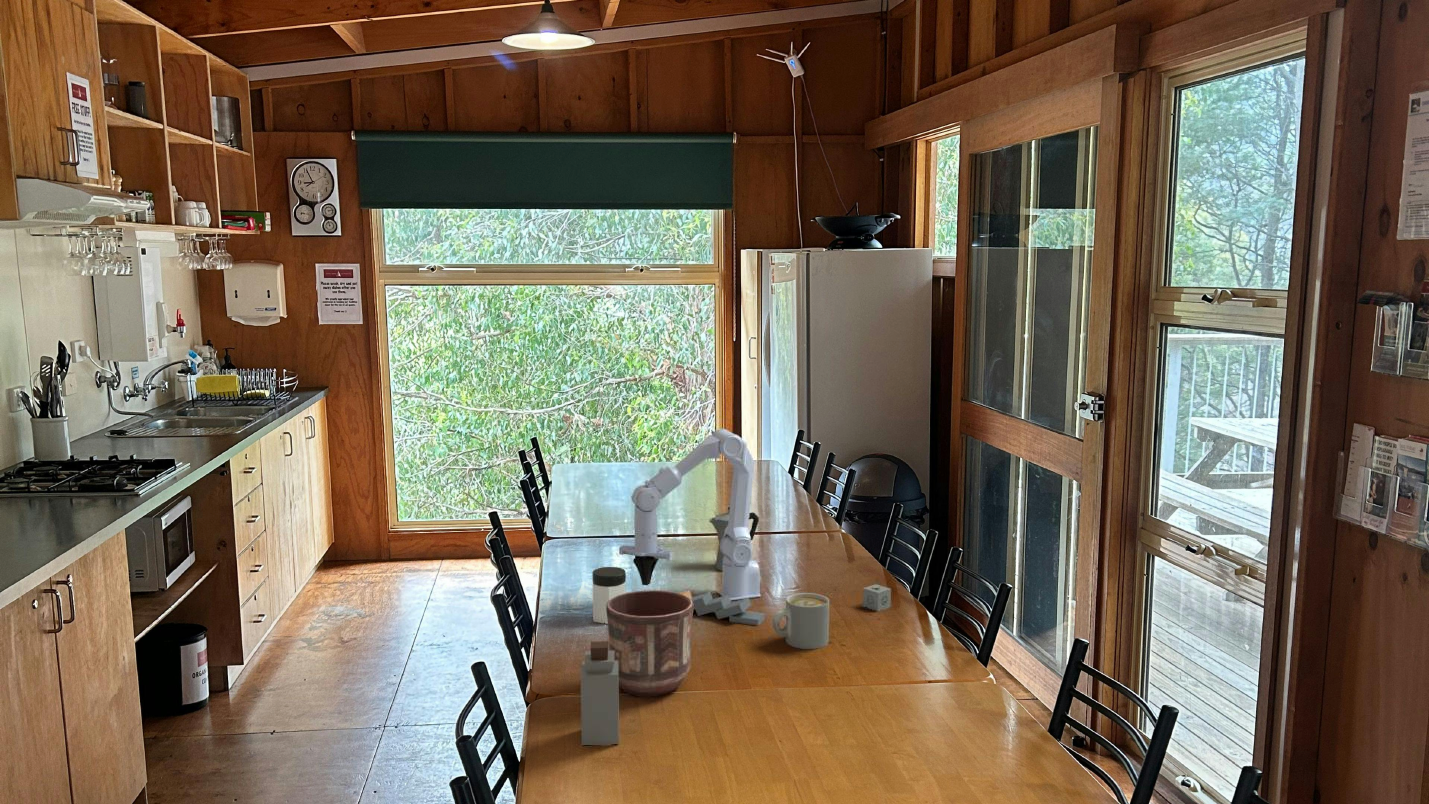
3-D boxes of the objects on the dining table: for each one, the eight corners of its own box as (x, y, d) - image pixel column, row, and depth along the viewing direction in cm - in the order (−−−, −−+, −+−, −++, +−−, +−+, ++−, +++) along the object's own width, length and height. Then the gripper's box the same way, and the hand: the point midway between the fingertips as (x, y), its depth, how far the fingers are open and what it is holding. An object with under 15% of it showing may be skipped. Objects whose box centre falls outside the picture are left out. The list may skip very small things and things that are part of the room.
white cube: (862, 607, 265) (863, 588, 265) (875, 602, 269) (875, 584, 268) (877, 612, 262) (878, 593, 261) (890, 607, 265) (891, 588, 264)
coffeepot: (715, 575, 291) (716, 512, 289) (703, 565, 300) (703, 505, 297) (765, 568, 297) (765, 507, 295) (751, 559, 306) (751, 500, 303)
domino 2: (677, 605, 260) (702, 597, 257) (684, 599, 265) (709, 591, 262) (679, 613, 260) (705, 605, 257) (687, 606, 265) (712, 599, 262)
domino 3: (695, 608, 258) (720, 600, 255) (702, 602, 263) (728, 594, 260) (697, 616, 258) (723, 608, 255) (705, 609, 263) (731, 602, 260)
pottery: (660, 710, 204) (660, 622, 202) (590, 690, 214) (589, 606, 211) (708, 680, 219) (709, 598, 217) (641, 663, 228) (641, 584, 226)
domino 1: (656, 602, 262) (681, 595, 259) (664, 596, 267) (689, 590, 264) (658, 610, 262) (684, 603, 259) (667, 604, 267) (692, 597, 264)
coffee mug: (822, 632, 247) (823, 592, 246) (833, 648, 237) (834, 605, 236) (767, 635, 245) (767, 594, 244) (776, 651, 235) (776, 608, 234)
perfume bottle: (583, 729, 196) (581, 638, 194) (619, 728, 197) (618, 637, 194) (581, 746, 190) (580, 652, 187) (618, 744, 190) (617, 651, 188)
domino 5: (729, 615, 254) (758, 619, 251) (736, 609, 259) (765, 613, 256) (729, 623, 254) (758, 627, 252) (736, 617, 259) (765, 621, 256)
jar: (601, 626, 250) (600, 578, 249) (585, 617, 257) (585, 570, 255) (633, 619, 255) (633, 572, 254) (617, 610, 262) (617, 564, 260)
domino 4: (714, 611, 256) (739, 604, 252) (724, 605, 260) (748, 597, 256) (718, 619, 256) (742, 612, 252) (727, 612, 260) (751, 604, 256)
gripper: (613, 533, 263) (613, 585, 265) (664, 539, 258) (664, 592, 260) (626, 526, 270) (626, 577, 272) (676, 532, 264) (676, 584, 266)
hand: (646, 584), depth 266 cm, fingers closed
